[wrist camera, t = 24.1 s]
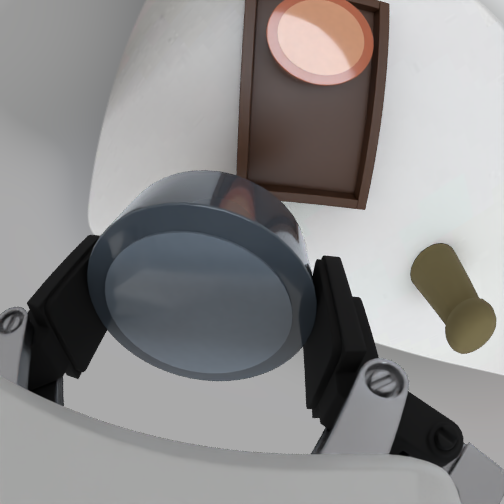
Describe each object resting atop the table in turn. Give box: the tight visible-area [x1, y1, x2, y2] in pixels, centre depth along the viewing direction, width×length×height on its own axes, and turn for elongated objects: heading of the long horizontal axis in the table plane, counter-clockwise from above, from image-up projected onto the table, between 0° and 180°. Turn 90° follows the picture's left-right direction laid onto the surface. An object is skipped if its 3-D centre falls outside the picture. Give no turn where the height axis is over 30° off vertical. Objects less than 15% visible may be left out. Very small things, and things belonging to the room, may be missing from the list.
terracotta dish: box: [266, 0, 374, 86], centre depth 16 cm, size 7×7×4 cm
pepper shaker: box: [410, 243, 496, 354], centre depth 23 cm, size 6×6×11 cm
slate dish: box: [87, 170, 317, 381], centre depth 10 cm, size 7×7×4 cm
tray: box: [237, 0, 389, 210], centre depth 19 cm, size 11×18×2 cm, turn 177°
